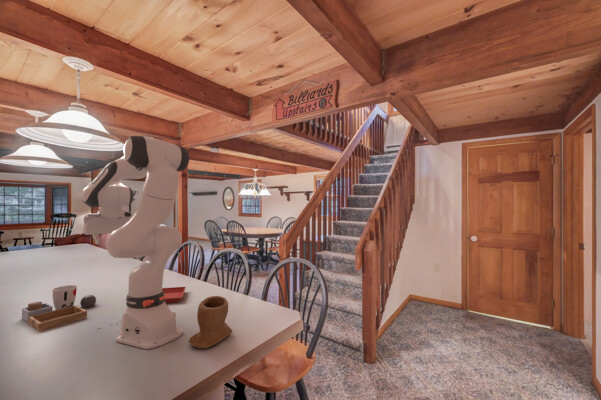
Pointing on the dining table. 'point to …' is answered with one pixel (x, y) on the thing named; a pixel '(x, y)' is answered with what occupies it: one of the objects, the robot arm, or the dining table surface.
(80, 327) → the dining table surface
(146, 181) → the robot arm
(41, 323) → the oak tray
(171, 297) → the plant saucer
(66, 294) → the cup
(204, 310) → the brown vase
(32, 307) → the walnut peg
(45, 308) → the pen pot
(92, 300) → the dark gray ball
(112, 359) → the dining table surface
